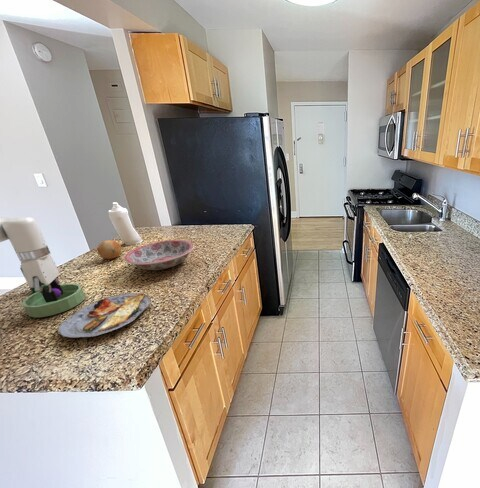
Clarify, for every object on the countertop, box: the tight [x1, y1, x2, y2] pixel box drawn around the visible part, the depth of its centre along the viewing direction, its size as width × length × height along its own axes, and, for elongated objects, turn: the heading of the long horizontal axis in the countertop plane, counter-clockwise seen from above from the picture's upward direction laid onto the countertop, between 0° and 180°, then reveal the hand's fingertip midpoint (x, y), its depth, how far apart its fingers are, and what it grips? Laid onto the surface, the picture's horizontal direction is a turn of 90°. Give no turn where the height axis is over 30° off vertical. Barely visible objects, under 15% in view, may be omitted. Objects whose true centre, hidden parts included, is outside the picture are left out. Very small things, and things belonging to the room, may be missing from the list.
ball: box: [52, 288, 61, 298], centre depth 96 cm, size 4×4×4 cm
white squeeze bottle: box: [107, 202, 144, 246], centre depth 152 cm, size 12×11×25 cm
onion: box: [97, 239, 123, 260], centre depth 135 cm, size 10×10×10 cm
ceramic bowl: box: [124, 239, 195, 271], centre depth 127 cm, size 29×29×8 cm
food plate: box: [57, 292, 152, 339], centre depth 90 cm, size 25×23×4 cm
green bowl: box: [21, 282, 86, 318], centre depth 97 cm, size 16×16×5 cm
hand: (55, 297), depth 96 cm, fingers closed on ball, 3 cm apart
